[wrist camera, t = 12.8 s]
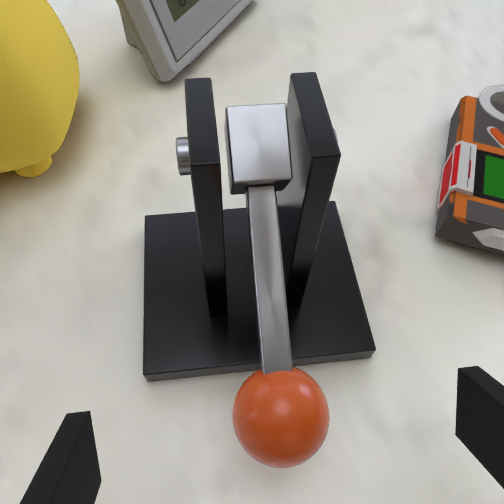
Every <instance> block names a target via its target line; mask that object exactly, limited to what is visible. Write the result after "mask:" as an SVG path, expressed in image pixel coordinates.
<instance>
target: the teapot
mask: <svg viewBox="0 0 504 504" xmlns="http://www.w3.org/2000/svg"><path fill="white" fill-rule="evenodd" d="M78 91H79V66H78V58H77V55H76V53H75V50H74V47H73V45H72V43H71V41H70V39H69V37H68V35H67V33H66V31H65V29H64V27H63V25H62V24H61V22H60V20H59V18H58V16H57V15H56V13H55V12H54V10H53V9H52V7H51V6H50V4H49V3H48V2H47V0H0V173H3V172H8V171H12V170H15V172H16V173H17V174H18V175H20V176H22V177H35V176H38V175H41V174H43V173H44V172H46V171H47V170H48V169H49V168H50V166H51V164H52V158H51V155H53V154H54V153H55V152H56V151H57V150H58V149H59V147H60V146H61V145H62V143H63V141H64V139H65V137H66V134H67V131H68V129H69V126H70V123H71V120H72V117H73V113H74V110H75V106H76V102H77V97H78Z"/></svg>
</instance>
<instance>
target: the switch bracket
mask: <svg viewBox="0 0 504 504" xmlns="http://www.w3.org/2000/svg"><path fill="white" fill-rule="evenodd" d="M184 82H185V99H186V116H187V133H188V137H179V138H176V153H177V163H178V170H179V174H180V175H191V181H192V189H193V196H194V204H195V211H196V212H186V213H174V214H161V215H148V216H145V246H144V332H143V375H144V377H145V379H146V380H147V381H148V382H149V381H158V380H167V379H176V378H186V377H195V376H204V375H213V374H222V373H232V372H241V371H250V370H259V369H261V364H260V353H259V342H258V331H257V320H256V308H255V297H254V286H253V275H252V264H251V253H250V242H249V230H248V219H247V208H238V209H225V210H223V205H222V185H221V164H220V154H219V145H218V136H217V127H216V118H215V109H214V100H213V90H212V81H211V78H194V79H185V81H184ZM287 119H288V129H289V140H290V150H291V161H292V172H293V179H292V180H291V181H290V182H289V184H288V185H287V186H286V187H285V189H284V190H283V191H278V192H277V206H278V217H279V228H280V238H281V249H282V260H283V271H284V282H285V292H286V303H287V314H288V325H289V336H290V346H291V357H292V366H296V365H305V364H314V363H324V362H333V361H342V360H351V359H360V358H370V357H371V356H372V355H373V353H374V352H375V351H376V348H375V344H374V340H373V337H372V333H371V329H370V326H369V322H368V319H367V315H366V311H365V308H364V304H363V301H362V297H361V293H360V290H359V286H358V283H357V279H356V275H355V272H354V268H353V264H352V261H351V257H350V254H349V250H348V246H347V243H346V239H345V236H344V232H343V228H342V225H341V221H340V217H339V214H338V210H337V207H336V203H335V201H329V198H330V195H331V191H332V187H333V183H334V180H335V176H336V172H337V168H338V165H339V161H340V157H341V153H340V150H339V146H338V142H337V136H336V132H335V130H334V129H333V127H332V124H331V120H330V117H329V114H328V111H327V107H326V104H325V101H324V98H323V94H322V91H321V88H320V85H319V81H318V78H317V75H316V73H315V72H307V73H292V74H291V76H290V84H289V93H288V102H287Z"/></svg>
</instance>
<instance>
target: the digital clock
mask: <svg viewBox="0 0 504 504" xmlns="http://www.w3.org/2000/svg"><path fill="white" fill-rule="evenodd" d="M251 1H252V0H116V2H117V4H118V6H119V9H120V13H121V17H122V22H123V26H124V31H125V35H126V39H127V42H128V43H129V44H130V45H133V46H135V47H138V48H139V50H140V52H141V54H142V56H143V58H144V61H145V63H146V65H147V66H148V68H149V70H150V72H151V73H152V74H153V76H154V77H155V78H156V79H157V80H159V81H162V82H168V81H170V80H172V79H173V78H174V77H175V76H176V75H177V74H178V73H180V72H181V71H182V70H183V69H184V68H185V67H186V66H189V65H190V64H191V63H192V62H193V61H194V60H195V59H196V58H197V57H198V56H199V55H200V54H201V53H202V52H203V51H204V50H205V49H206V48H207V47H208V46H209V45H210V44H211V43H212V42H213V41H214V40H215V39H216V38H217V37H218V36H219V35H220V34H221V33H222V32H223V31H224V30H225V29H226V28H227V27H228V26H229V25H230V24H231V23H232V22H233V21H234V20H235V19H236V18H237V17H238V16H239V13H240V12H241V11H242V10H243V9H244V8H245V7H246V6H247V5H248V4H249V3H250V2H251Z"/></svg>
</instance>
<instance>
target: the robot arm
mask: <svg viewBox="0 0 504 504" xmlns="http://www.w3.org/2000/svg"><path fill="white" fill-rule="evenodd" d="M455 435H456V436H457V437H458V438H459V439H460V440H461V442H462V443H463V444H464V445H465V446H466V447H467V448H468V449H469V451H470V452H471V453H472V454H473V455H474V456H475V457H476V458H477V459H478V461H479V462H480V463H481V464H482V465H483V466H484V467H485V468H486V470H487V471H488V472H489V473H490V474H491V475H492V476H493V477H494V479H495V480H496V481H497V482H498V483H499V484H500V485H501V486H502V488H503V489H504V386H503V385H502V384H501V383H499V382H498V381H497V380H495V379H494V378H493V377H492V376H490V375H489V374H488V373H486V372H485V371H484V370H483V369H481V368H480V367H479V366H472V367H464V368H458V382H457V408H456V433H455ZM100 484H101V475H100V469H99V463H98V456H97V450H96V444H95V438H94V432H93V426H92V420H91V414H90V411H85V412H76V413H68V414H66V416H65V418H64V420H63V422H62V424H61V426H60V428H59V430H58V431H57V433H56V435H55V437H54V439H53V441H52V443H51V445H50V447H49V449H48V451H47V452H46V454H45V456H44V458H43V460H42V462H41V464H40V466H39V468H38V470H37V472H36V474H35V475H34V477H33V479H32V481H31V483H30V485H29V487H28V489H27V491H26V493H25V495H24V496H23V498H22V500H21V502H20V504H94V503H95V500H96V497H97V493H98V490H99V487H100Z"/></svg>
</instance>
